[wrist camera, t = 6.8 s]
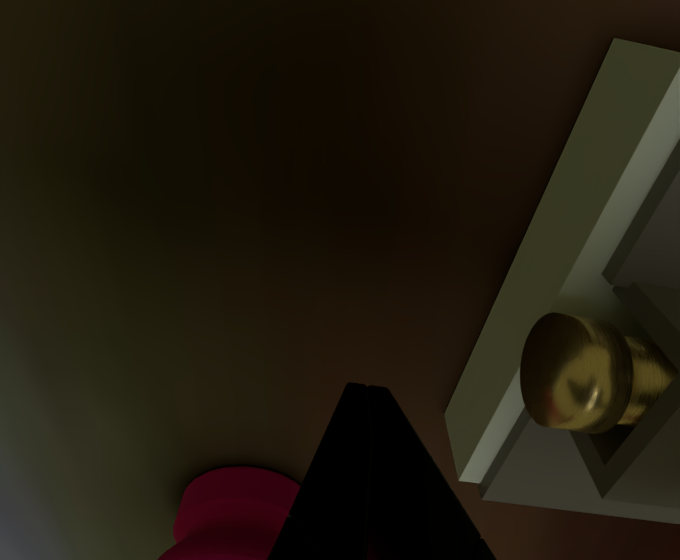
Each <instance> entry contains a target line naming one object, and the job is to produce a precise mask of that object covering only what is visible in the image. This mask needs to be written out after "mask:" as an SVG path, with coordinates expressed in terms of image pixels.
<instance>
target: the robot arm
mask: <svg viewBox="0 0 680 560" xmlns="http://www.w3.org/2000/svg"><path fill="white" fill-rule="evenodd" d="M480 537H481V535H480V533H479V531H478V530H477V528H476V527H475V525H474V523H473V522H472V520H471V519H470V517H469V515H468V514H467V512H466V511H465V509H464V508H463V506H462V504H461V503H460V501H459V500H458V498H457V496H456V495H455V493H454V492H453V490H452V489H451V487H450V485H449V484H448V482H447V481H446V479H445V477H444V476H443V474H442V473H441V471H440V470H439V468H438V466H437V465H436V463H435V462H434V460H433V458H432V457H431V455H430V454H429V452H428V451H427V449H426V447H425V446H424V444H423V443H422V441H421V439H420V438H419V436H418V435H417V433H416V432H415V430H414V428H413V427H412V425H411V424H410V422H409V420H408V419H407V417H406V416H405V414H404V413H403V411H402V409H401V408H400V406H399V405H398V403H397V401H396V400H395V398H394V397H393V395H392V394H391V392H390V390H389V389H388V388H386V387H380V386H373V385H370V386H368V387H367V386H366V385H365V384H358V383H351V382H349V383H347V385H346V386H345V389H344V391H343V393H342V395H341V398H340V400H339V402H338V404H337V406H336V409H335V411H334V413H333V415H332V418H331V420H330V422H329V424H328V427H327V429H326V431H325V433H324V435H323V438H322V440H321V442H320V444H319V447H318V449H317V451H316V453H315V456H314V458H313V460H312V462H311V464H310V467H309V469H308V471H307V473H306V476H305V478H304V480H303V482H302V485H301V487H300V489H299V491H298V493H297V496H296V498H295V500H294V502H293V505H292V507H291V509H290V511H289V514H288V517H287V518H286V520H285V522H284V524H283V526H282V529H281V531H280V533H279V535H278V537H277V540H276V542H275V544H274V546H273V548H272V550H271V552H270V554H269V556H268V558H267V560H497V559H496V558H495V556H494V555H493V553H492V552H491V550H490V548H489V547H488V545H487V544H486V542H485V541H484V539H482V538H481V539H480Z"/></svg>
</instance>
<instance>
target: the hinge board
mask: <svg viewBox="0 0 680 560" xmlns="http://www.w3.org/2000/svg"><path fill="white" fill-rule="evenodd" d="M552 312H556V313H563V314H569V315H575V316H581V317H587V318H593V319H599V320H605V321H608V322H610V323H612V324H613V325H614V326H616V327H617V328H618V329H619V330H620V332H621V333H622V334H623V336H629V337H635V338H642V339H648V340H654V342H655V343H656V344H657V345H658V347H659V348H660V349H661V350H662V351H663V353H664V354H665V355H666V356H667V357H668V359H669V360H670V361H671V362H672V364H673V365H674V366H675V367H676V368H677V370H678V371H679V373H678V374H677V375H676V376H675V378H674V379H673V380H672V382H671V383H670V384H669V385H668V387H667V388H666V389H665V390H664V392H663V393H662V394H661V395H660V397H659V398H658V399H657V400H656V402H655V403H654V404H653V406H652V407H651V408H650V409H649V411H648V412H647V413H646V414H645V416H644V417H643V418H642V419H641V421H640V422H639V423H638V425H637V426H636V427H631V426H624V425H617V424H616V425H615V426H614V427H613V428H612V429H610V430H608V431H607V432H604V433H600V434H591V433H584V432H577V431H569V430H562V429H555V428H548V427H543V426H540V425H539V424H537V423H536V422H535V421H534V420H533V419H532V418H531V417H530V415H529V413H528V412H527V409H526V407H525V405H524V402H523V398H522V394H521V387H520V363H521V356H522V352H523V348H524V344H525V342H526V339H527V336H528V334H529V332H530V331H531V329H532V327H533V326H534V324H535V323H536V322H537V321H538V320H539V319H540V318H541V317H542V316H544V315H546V314H548V313H552ZM444 416H445V421H446V425H447V430H448V434H449V439H450V444H451V448H452V453H453V457H454V462H455V466H456V471H457V476H458V480H459V481H465V482H473V483H480V485H479V486H478V488H479V492H480V496H481V499H482V500H488V501H496V502H504V503H513V504H521V505H529V506H537V507H545V508H553V509H561V510H569V511H577V512H585V513H594V514H602V515H610V516H618V517H626V518H634V519H642V520H650V521H658V522H666V523H674V524H680V52H676V51H672V50H667V49H663V48H658V47H654V46H649V45H645V44H640V43H636V42H631V41H627V40H622V39H618V38H614V39H613V41H612V43H611V45H610V48H609V50H608V52H607V54H606V57H605V59H604V61H603V63H602V65H601V68H600V70H599V72H598V74H597V76H596V79H595V81H594V83H593V85H592V88H591V90H590V92H589V94H588V96H587V99H586V101H585V103H584V105H583V108H582V110H581V112H580V114H579V116H578V119H577V121H576V123H575V125H574V127H573V130H572V132H571V134H570V136H569V139H568V141H567V143H566V145H565V147H564V150H563V152H562V154H561V156H560V159H559V161H558V163H557V165H556V167H555V170H554V172H553V174H552V176H551V178H550V181H549V183H548V185H547V187H546V190H545V192H544V194H543V196H542V198H541V201H540V203H539V205H538V207H537V210H536V212H535V214H534V216H533V218H532V221H531V223H530V225H529V227H528V229H527V232H526V234H525V236H524V238H523V241H522V243H521V245H520V247H519V249H518V252H517V254H516V256H515V258H514V261H513V263H512V265H511V267H510V269H509V272H508V274H507V276H506V278H505V280H504V283H503V285H502V287H501V289H500V292H499V294H498V296H497V298H496V300H495V303H494V305H493V307H492V309H491V312H490V314H489V316H488V318H487V320H486V323H485V325H484V327H483V329H482V331H481V334H480V336H479V338H478V340H477V343H476V345H475V347H474V349H473V351H472V354H471V356H470V358H469V360H468V363H467V365H466V367H465V369H464V371H463V374H462V376H461V378H460V380H459V382H458V385H457V387H456V389H455V391H454V394H453V396H452V398H451V400H450V402H449V405H448V407H447V409H446V411H445V414H444Z"/></svg>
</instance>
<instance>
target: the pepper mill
mask: <svg viewBox="0 0 680 560" xmlns="http://www.w3.org/2000/svg"><path fill="white" fill-rule="evenodd" d="M300 487H301V486H300V485H298V484H297V483H296V482H295V481H293V480H291V479H290V478H288V477H286V476H284V475H282V474H280V473H276V472H273V471H270V470H267V469H262V468H255V467H248V466H240V467H224V468H220V469H216V470H212V471H209V472H207V473H205V474H203V475H201V476H199V477H197V478H196V479H194V480H193V481H192V482H191V483H190V484H189V485H188V487H187V488H186V490H185V492H184V494H183V497H182V500H181V503H180V507H179V510H178V513H177V516H176V520H175V523H174V527H173V535H174V538H175V541H176V542H177V544H176V545H174V546H173V547H171V548H170V549H169V550H167V551H166V552H165V553H164V554H163V555H161V556H160V557H159V559H158V560H267V558H268V556H269V554H270V552H271V550H272V548H273V546H274V544H275V542H276V540H277V537H278V535H279V533H280V531H281V529H282V526H283V524H284V522H285V520H286V518H287V517H288V514H289V511H290V509H291V507H292V505H293V502H294V500H295V498H296V496H297V493H298V491H299V489H300Z"/></svg>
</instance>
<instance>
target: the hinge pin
mask: <svg viewBox="0 0 680 560" xmlns="http://www.w3.org/2000/svg"><path fill="white" fill-rule="evenodd" d="M678 373H679V371H678V370H677V368H676V367H675V366H674V365H673V364H672V362H671V361H670V360H669V359H668V357H667V356H666V355H665V354H664V353H663V351H662V350H661V349H660V348H659V347H658V345H657V344H656V343H655V342H654V340H648V339H642V338H635V337H629V336H623V334H622V333H621V332H620V330H619V329H618V328H617V327H616V326H614V325H613V324H612V323H610V322H608V321H605V320H599V319H593V318H587V317H581V316H575V315H569V314H563V313H556V312H552V313H548V314H546V315H544V316H542V317H541V318H540V319H539V320H538V321H537V322H536V323H535V324H534V326H533V327H532V329H531V331H530V332H529V334H528V336H527V339H526V342H525V344H524V348H523V352H522V356H521V363H520V387H521V394H522V398H523V402H524V405H525V407H526V409H527V412H528V413H529V415H530V417H531V418H532V419H533V420H534V421H535V422H536V423H537V424H539V425H540V426H543V427H548V428H555V429H562V430H569V431H577V432H584V433H591V434H600V433H604V432H607V431H608V430H610V429H612V428H613V427H614V426H615V425H616V424H617V425H624V426H631V427H636V426H637V425H638V423H639V422H640V421H641V419H642V418H643V417H644V416H645V414H646V413H647V412H648V411H649V409H650V408H651V407H652V406H653V404H654V403H655V402H656V400H657V399H658V398H659V397H660V395H661V394H662V393H663V392H664V390H665V389H666V388H667V387H668V385H669V384H670V383H671V382H672V380H673V379H674V378H675V376H676V375H677V374H678Z"/></svg>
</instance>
